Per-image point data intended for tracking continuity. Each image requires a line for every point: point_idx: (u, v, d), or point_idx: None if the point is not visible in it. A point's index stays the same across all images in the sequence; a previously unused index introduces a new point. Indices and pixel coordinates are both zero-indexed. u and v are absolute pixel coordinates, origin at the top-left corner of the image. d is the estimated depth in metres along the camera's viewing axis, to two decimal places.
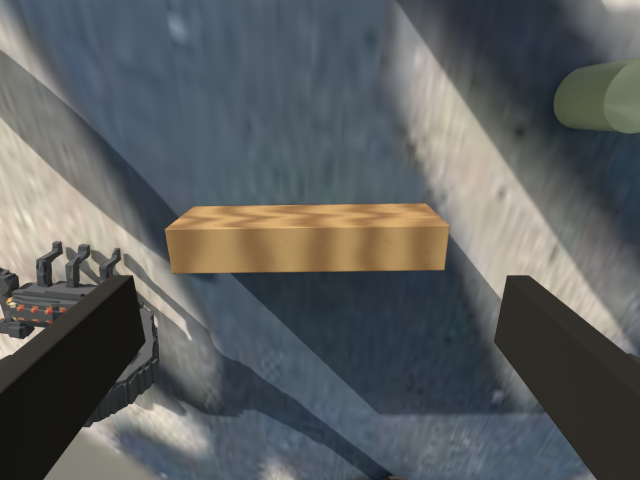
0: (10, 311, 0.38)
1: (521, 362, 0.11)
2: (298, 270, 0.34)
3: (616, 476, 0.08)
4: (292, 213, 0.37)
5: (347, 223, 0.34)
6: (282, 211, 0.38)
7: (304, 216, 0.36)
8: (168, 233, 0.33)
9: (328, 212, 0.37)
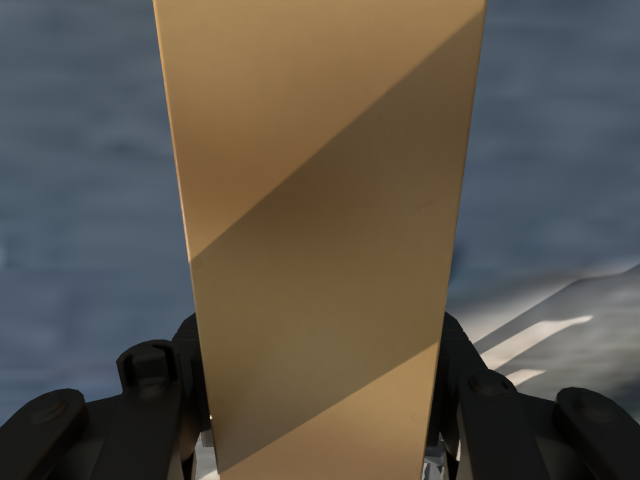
0: None
1: None
2: None
3: None
4: None
5: None
6: None
7: None
8: None
9: None
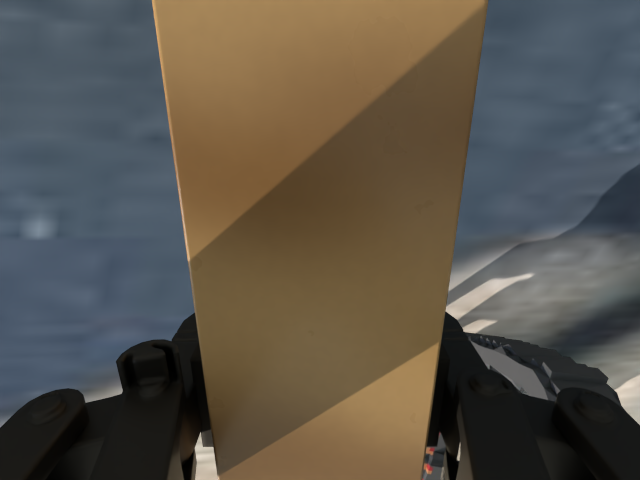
0: None
1: None
2: None
3: None
4: None
5: None
6: None
7: None
8: None
9: None
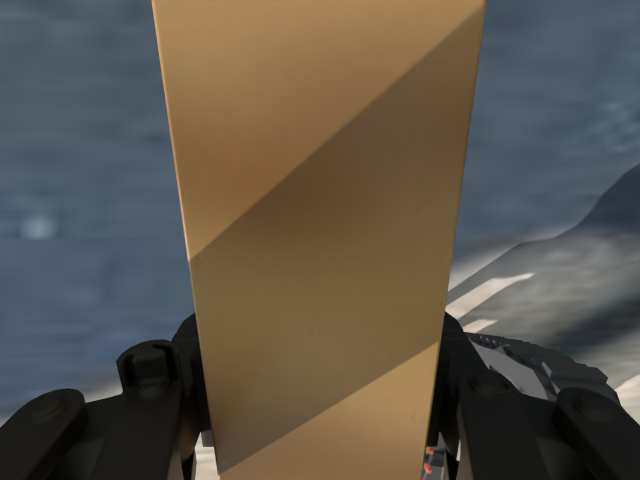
0: None
1: None
2: None
3: None
4: None
5: None
6: None
7: None
8: None
9: None
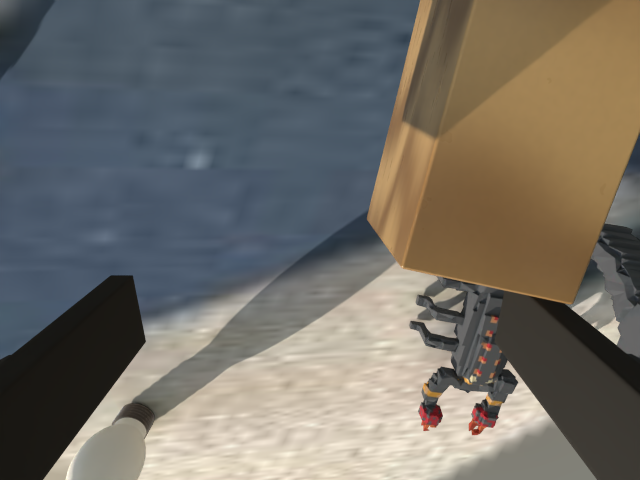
0: (480, 382, 0.35)
1: (521, 362, 0.11)
2: None
3: (616, 476, 0.08)
4: None
5: None
6: None
7: None
8: (419, 259, 0.09)
9: None
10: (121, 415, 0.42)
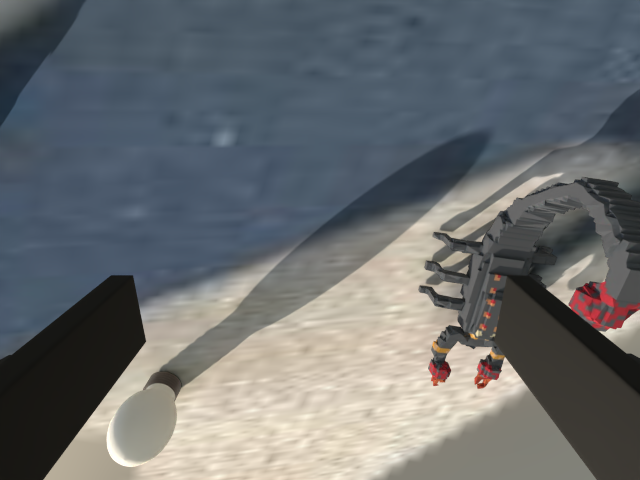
0: (485, 337, 0.38)
1: (521, 362, 0.11)
2: None
3: (616, 476, 0.08)
4: None
5: None
6: None
7: None
8: None
9: None
10: (151, 381, 0.45)
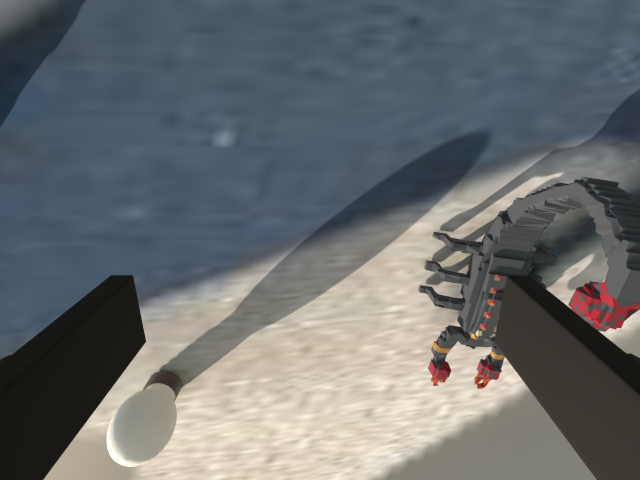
0: (485, 337, 0.38)
1: (521, 362, 0.11)
2: None
3: (616, 476, 0.08)
4: None
5: None
6: None
7: None
8: None
9: None
10: (151, 381, 0.45)
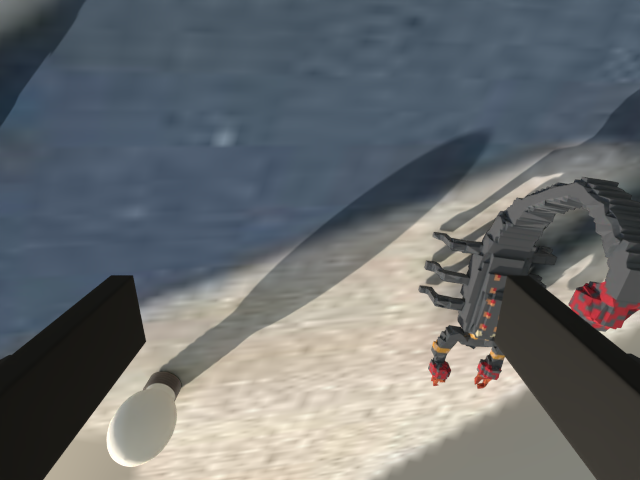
0: (485, 337, 0.38)
1: (521, 362, 0.11)
2: None
3: (616, 476, 0.08)
4: None
5: None
6: None
7: None
8: None
9: None
10: (151, 381, 0.45)
